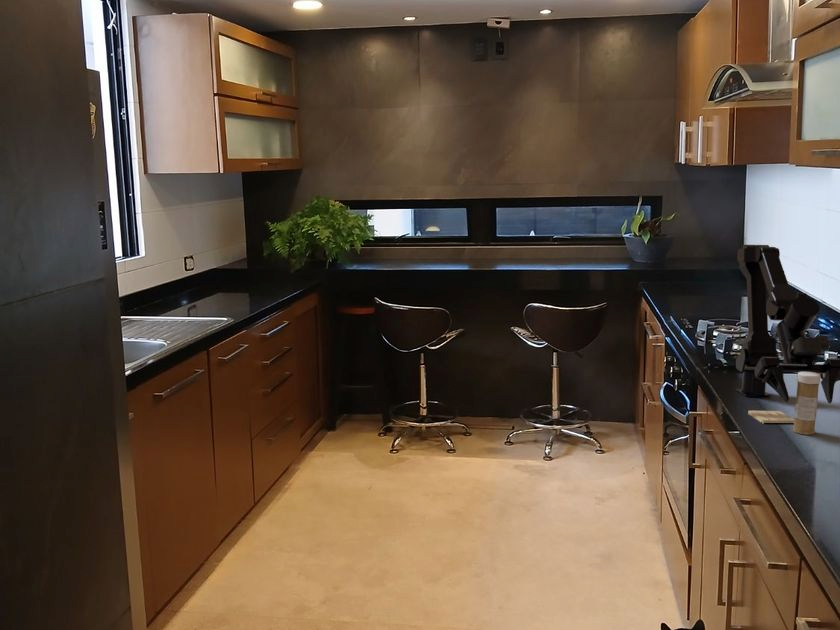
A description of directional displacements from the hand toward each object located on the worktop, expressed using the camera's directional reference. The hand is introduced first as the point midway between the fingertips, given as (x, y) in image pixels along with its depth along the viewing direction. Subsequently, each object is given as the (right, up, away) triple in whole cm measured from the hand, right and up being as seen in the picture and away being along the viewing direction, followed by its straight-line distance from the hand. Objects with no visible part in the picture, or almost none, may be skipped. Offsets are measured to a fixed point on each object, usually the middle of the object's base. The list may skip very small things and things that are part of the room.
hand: (808, 401), depth 182 cm
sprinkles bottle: (0, -7, +2) cm, 8 cm away
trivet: (-3, -5, +13) cm, 14 cm away
